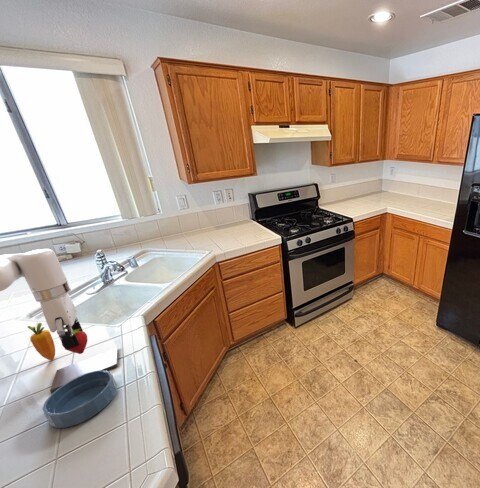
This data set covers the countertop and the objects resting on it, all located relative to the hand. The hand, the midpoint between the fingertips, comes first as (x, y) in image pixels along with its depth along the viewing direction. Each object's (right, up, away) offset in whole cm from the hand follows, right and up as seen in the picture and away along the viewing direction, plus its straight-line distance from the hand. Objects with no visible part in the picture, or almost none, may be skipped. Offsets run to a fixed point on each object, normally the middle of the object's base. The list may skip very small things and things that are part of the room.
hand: (74, 340), depth 82 cm
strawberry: (0, -5, +2) cm, 5 cm away
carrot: (-17, -11, +10) cm, 22 cm away
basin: (+12, -15, -9) cm, 21 cm away
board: (+1, -11, +4) cm, 12 cm away
